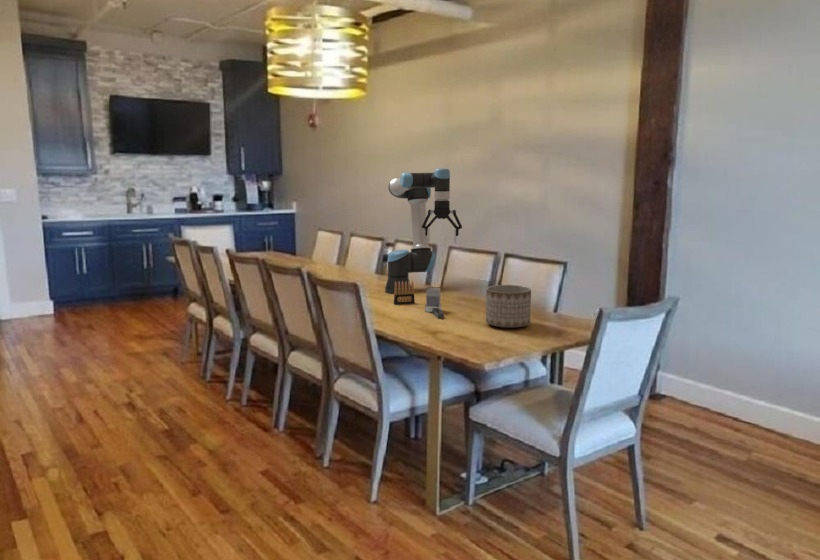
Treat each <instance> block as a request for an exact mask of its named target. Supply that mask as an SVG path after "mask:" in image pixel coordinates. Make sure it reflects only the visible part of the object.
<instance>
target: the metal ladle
mask: <svg viewBox="0 0 820 560" xmlns="http://www.w3.org/2000/svg"><path fill="white" fill-rule="evenodd" d="M424 306H425V307H424V313H428V314H432V315H434V316H435V317H436V318H437V319H438V320H440V319H441V320H442V319H445V314H444V312H443V310H442V308H443V307H442V304H441V303H440V305H439V307H433V306H426V304H425V305H424Z"/></svg>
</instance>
